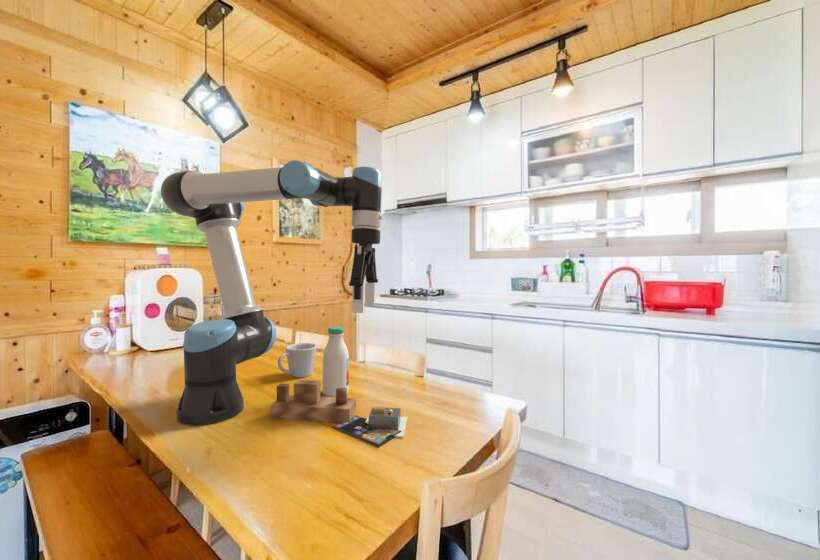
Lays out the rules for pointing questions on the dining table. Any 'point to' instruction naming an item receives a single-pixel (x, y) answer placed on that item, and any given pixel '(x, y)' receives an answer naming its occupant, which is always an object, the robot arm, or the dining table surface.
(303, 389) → the wooden peg board
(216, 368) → the robot arm
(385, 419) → the lever cap
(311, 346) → the mug
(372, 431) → the smartphone
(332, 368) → the milk bottle
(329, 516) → the dining table surface
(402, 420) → the thin cream card
